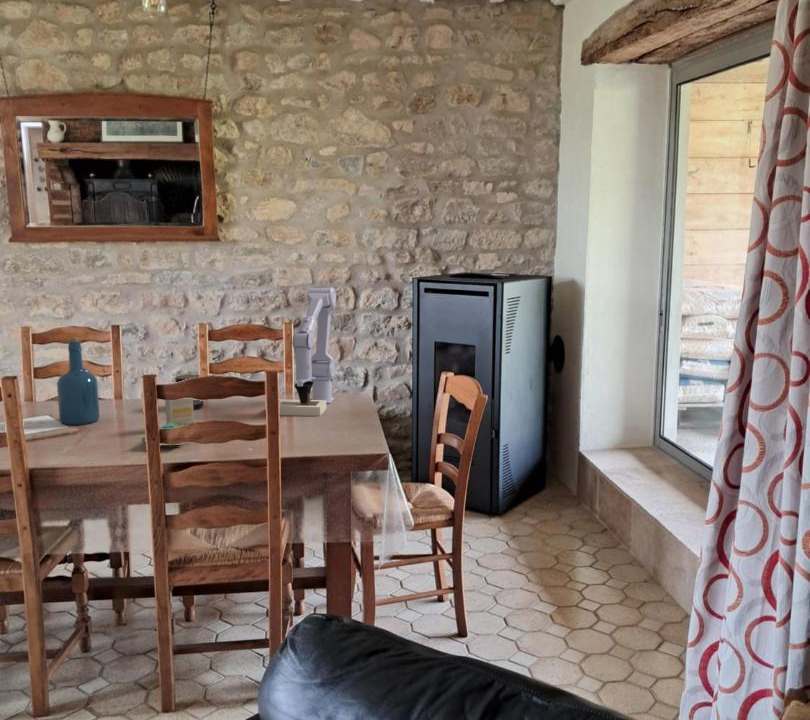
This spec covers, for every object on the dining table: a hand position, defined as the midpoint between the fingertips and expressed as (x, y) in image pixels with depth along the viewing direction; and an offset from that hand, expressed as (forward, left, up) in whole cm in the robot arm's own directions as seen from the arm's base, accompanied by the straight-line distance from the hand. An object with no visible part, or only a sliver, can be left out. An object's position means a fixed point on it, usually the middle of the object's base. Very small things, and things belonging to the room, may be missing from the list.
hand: (304, 402), depth 300 cm
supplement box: (+27, -37, -4) cm, 46 cm away
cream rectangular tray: (0, -3, -4) cm, 5 cm away
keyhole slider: (0, 0, -3) cm, 3 cm away
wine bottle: (+20, -76, -4) cm, 79 cm away
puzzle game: (+44, -33, -4) cm, 55 cm away
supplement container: (-4, -45, -4) cm, 45 cm away
